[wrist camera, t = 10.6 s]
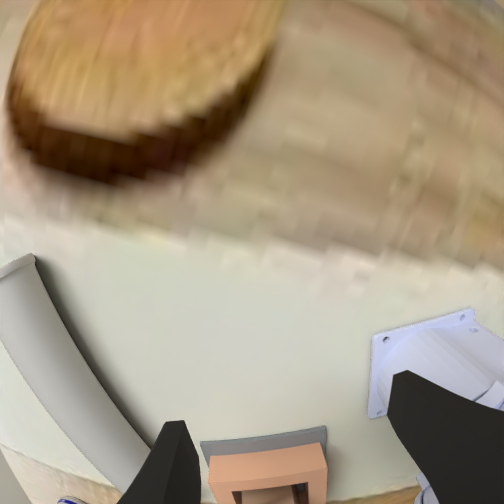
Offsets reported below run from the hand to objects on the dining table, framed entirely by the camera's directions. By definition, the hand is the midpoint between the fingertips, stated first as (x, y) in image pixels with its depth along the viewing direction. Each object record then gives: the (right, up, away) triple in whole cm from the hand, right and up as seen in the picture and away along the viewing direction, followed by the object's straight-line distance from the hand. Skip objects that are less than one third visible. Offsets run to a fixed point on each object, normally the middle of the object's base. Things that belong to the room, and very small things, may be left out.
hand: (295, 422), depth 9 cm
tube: (-13, -6, +12) cm, 19 cm away
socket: (0, -15, +14) cm, 20 cm away
